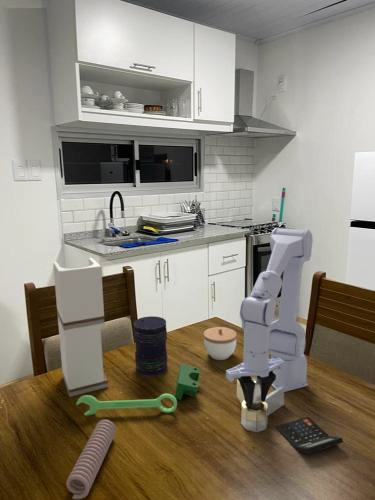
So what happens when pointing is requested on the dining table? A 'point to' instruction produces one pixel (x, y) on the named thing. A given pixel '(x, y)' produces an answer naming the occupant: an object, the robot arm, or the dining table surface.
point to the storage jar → (150, 346)
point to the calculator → (307, 435)
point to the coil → (90, 459)
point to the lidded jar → (220, 342)
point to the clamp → (187, 381)
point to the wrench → (125, 403)
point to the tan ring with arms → (259, 418)
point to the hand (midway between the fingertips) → (254, 401)
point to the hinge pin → (256, 395)
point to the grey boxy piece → (80, 326)
